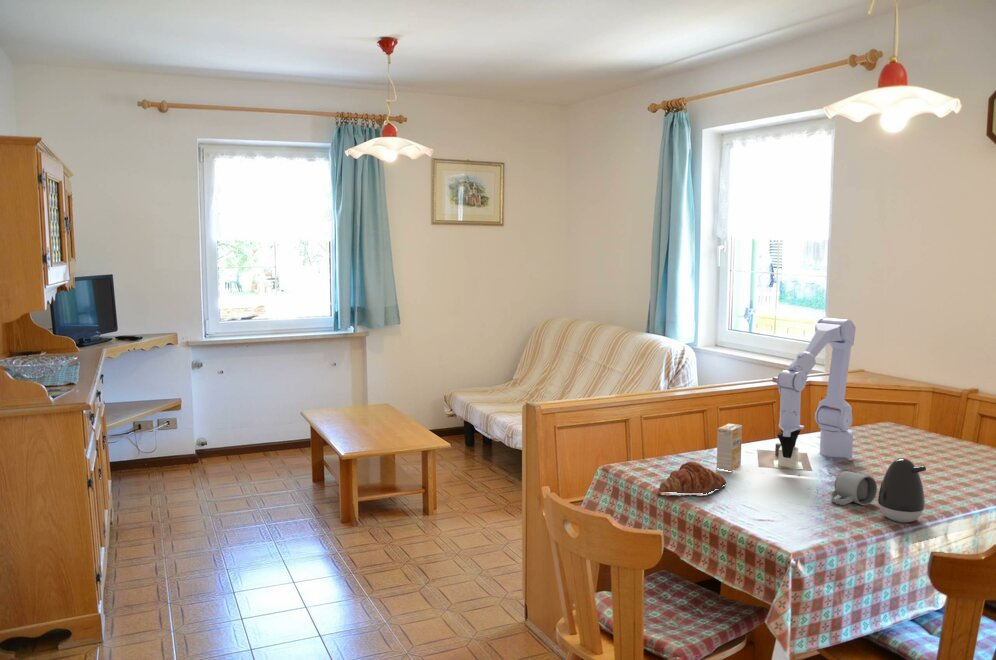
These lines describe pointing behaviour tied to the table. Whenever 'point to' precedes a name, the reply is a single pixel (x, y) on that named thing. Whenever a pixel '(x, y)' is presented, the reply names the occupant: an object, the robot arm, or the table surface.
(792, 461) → the off-white matte cube
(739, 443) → the supplement box
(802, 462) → the walnut board
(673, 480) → the pastry
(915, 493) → the pump dispenser
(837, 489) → the ceramic mug
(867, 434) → the table surface
